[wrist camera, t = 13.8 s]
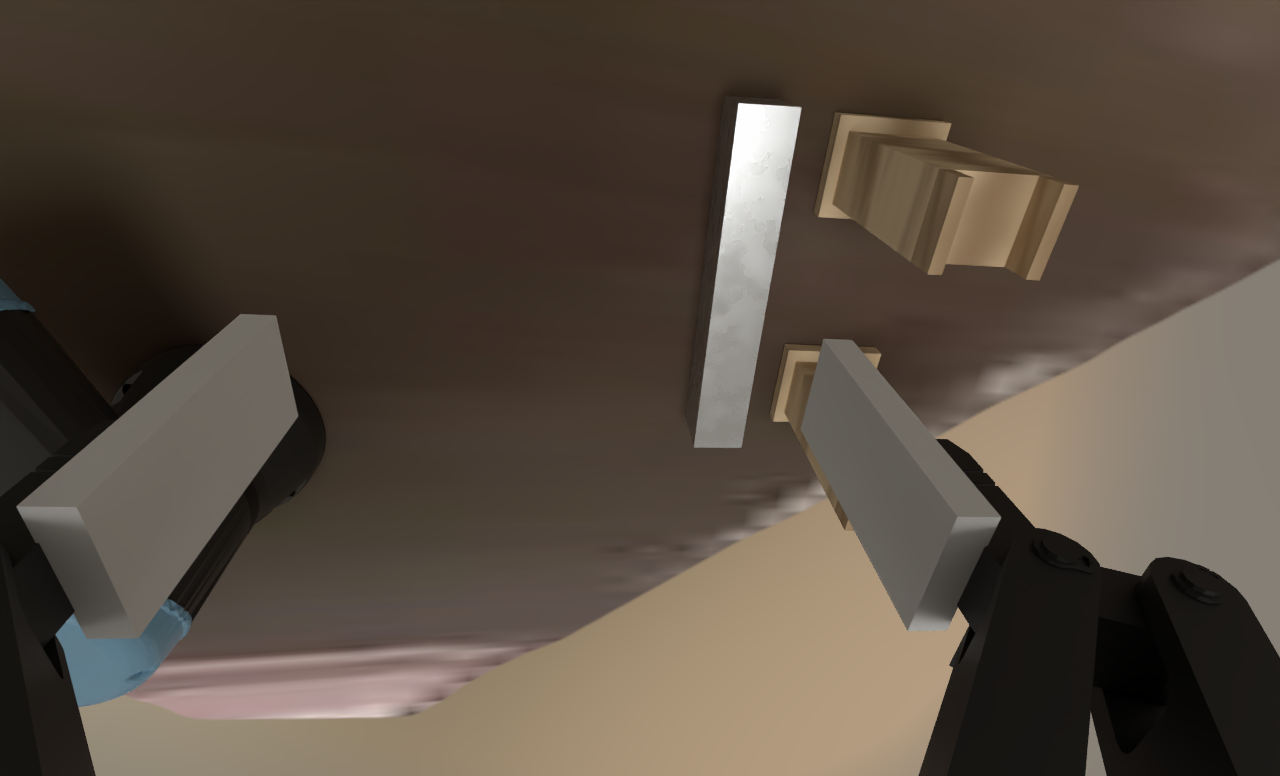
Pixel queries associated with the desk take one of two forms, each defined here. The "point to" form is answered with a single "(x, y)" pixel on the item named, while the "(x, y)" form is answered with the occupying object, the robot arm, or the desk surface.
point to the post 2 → (940, 196)
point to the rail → (738, 263)
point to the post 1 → (805, 403)
